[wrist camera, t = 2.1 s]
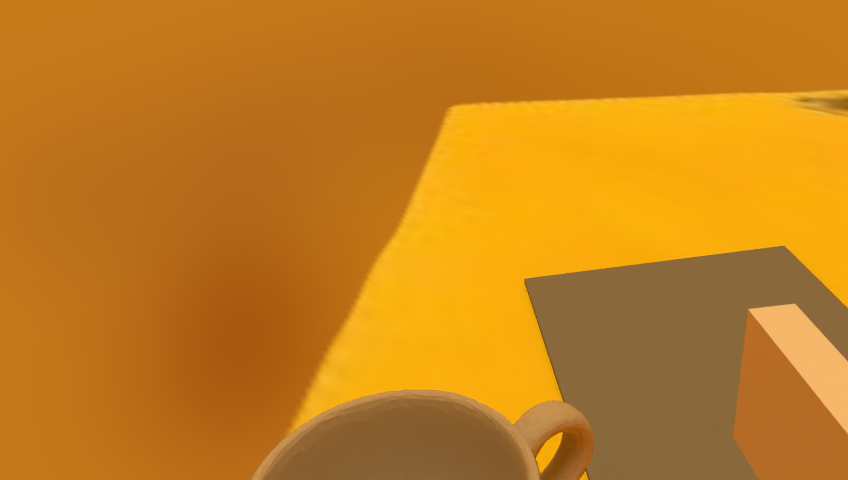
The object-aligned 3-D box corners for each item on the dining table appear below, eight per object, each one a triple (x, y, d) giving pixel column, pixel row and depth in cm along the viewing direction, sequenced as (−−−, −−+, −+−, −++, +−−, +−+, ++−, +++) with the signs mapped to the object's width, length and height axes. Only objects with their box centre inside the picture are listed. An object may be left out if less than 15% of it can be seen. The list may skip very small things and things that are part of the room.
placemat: (784, 248, 51) (784, 245, 51) (996, 460, 33) (998, 456, 33) (524, 281, 51) (524, 278, 51) (598, 509, 33) (598, 506, 33)
